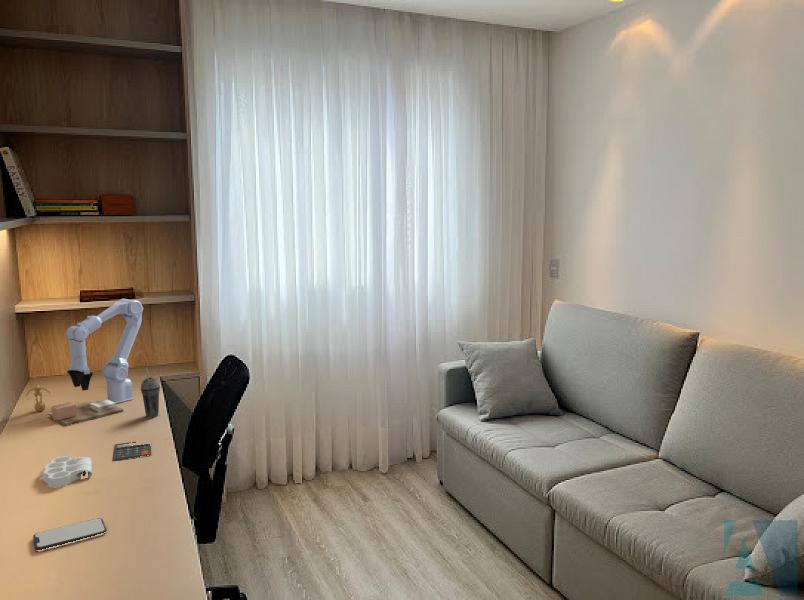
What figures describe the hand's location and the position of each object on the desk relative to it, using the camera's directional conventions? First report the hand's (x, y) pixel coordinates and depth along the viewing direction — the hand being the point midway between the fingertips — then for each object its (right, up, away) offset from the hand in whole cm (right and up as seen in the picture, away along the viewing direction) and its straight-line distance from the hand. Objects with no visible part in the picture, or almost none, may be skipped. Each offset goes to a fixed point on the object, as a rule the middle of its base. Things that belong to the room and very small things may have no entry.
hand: (81, 388), depth 257 cm
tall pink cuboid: (-2, -10, -10) cm, 14 cm away
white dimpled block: (+26, -19, -60) cm, 68 cm away
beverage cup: (+31, -10, -5) cm, 33 cm away
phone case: (+46, -25, -96) cm, 109 cm away
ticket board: (+4, -10, -3) cm, 11 cm away
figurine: (-17, -10, 0) cm, 19 cm away
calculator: (+38, -16, -40) cm, 58 cm away
